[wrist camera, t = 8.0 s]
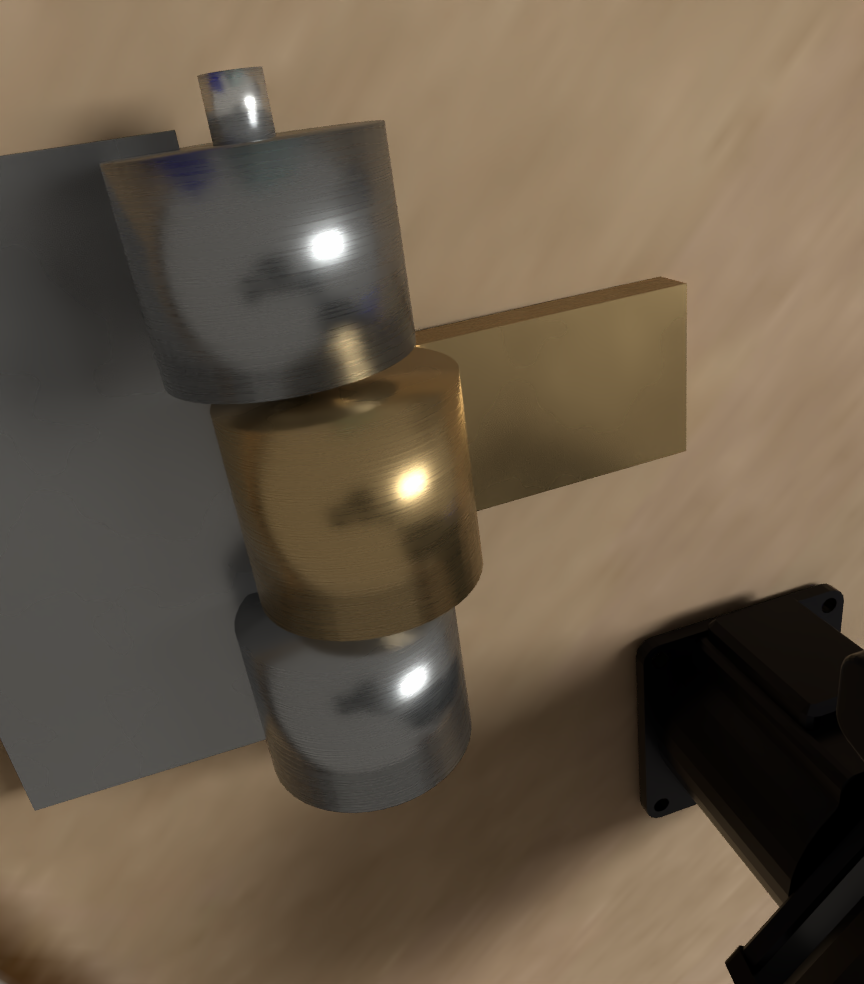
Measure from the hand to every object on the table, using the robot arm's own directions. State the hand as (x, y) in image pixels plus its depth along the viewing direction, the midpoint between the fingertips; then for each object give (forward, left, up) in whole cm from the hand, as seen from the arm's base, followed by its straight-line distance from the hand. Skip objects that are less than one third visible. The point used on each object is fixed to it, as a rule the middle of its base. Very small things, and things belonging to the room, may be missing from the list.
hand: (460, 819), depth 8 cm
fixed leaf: (0, +3, -11) cm, 11 cm away
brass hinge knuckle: (0, -4, -11) cm, 11 cm away
